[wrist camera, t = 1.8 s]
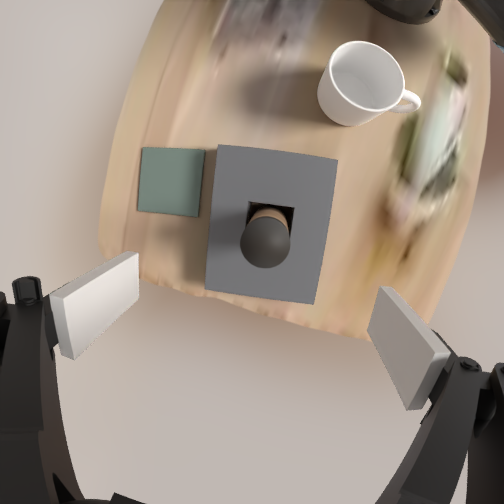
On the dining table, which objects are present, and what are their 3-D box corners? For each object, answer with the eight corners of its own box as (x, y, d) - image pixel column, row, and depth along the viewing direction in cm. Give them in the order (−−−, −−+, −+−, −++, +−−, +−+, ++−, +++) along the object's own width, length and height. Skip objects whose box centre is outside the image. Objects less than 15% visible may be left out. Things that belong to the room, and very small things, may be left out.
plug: (254, 203, 37) (243, 216, 25) (288, 207, 37) (293, 222, 25) (250, 236, 39) (237, 264, 26) (283, 240, 38) (286, 271, 26)
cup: (321, 64, 32) (333, 31, 22) (402, 90, 31) (435, 69, 22) (311, 118, 34) (322, 98, 24) (395, 143, 34) (430, 134, 24)
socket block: (224, 147, 36) (218, 144, 32) (331, 161, 35) (338, 159, 31) (211, 278, 41) (204, 289, 37) (310, 292, 40) (313, 304, 36)
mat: (144, 147, 37) (143, 147, 36) (205, 150, 36) (204, 149, 36) (139, 210, 39) (137, 210, 39) (198, 216, 39) (197, 217, 38)
